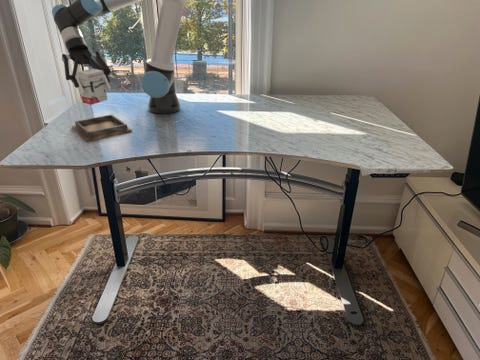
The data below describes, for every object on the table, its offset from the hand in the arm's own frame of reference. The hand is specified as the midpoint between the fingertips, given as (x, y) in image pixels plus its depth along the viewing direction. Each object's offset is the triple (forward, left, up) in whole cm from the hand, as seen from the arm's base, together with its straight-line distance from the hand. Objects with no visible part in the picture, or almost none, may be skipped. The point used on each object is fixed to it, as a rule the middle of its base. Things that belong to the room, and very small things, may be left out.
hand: (96, 92), depth 131 cm
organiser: (+1, -3, -16) cm, 17 cm away
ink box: (+2, -3, -5) cm, 6 cm away
